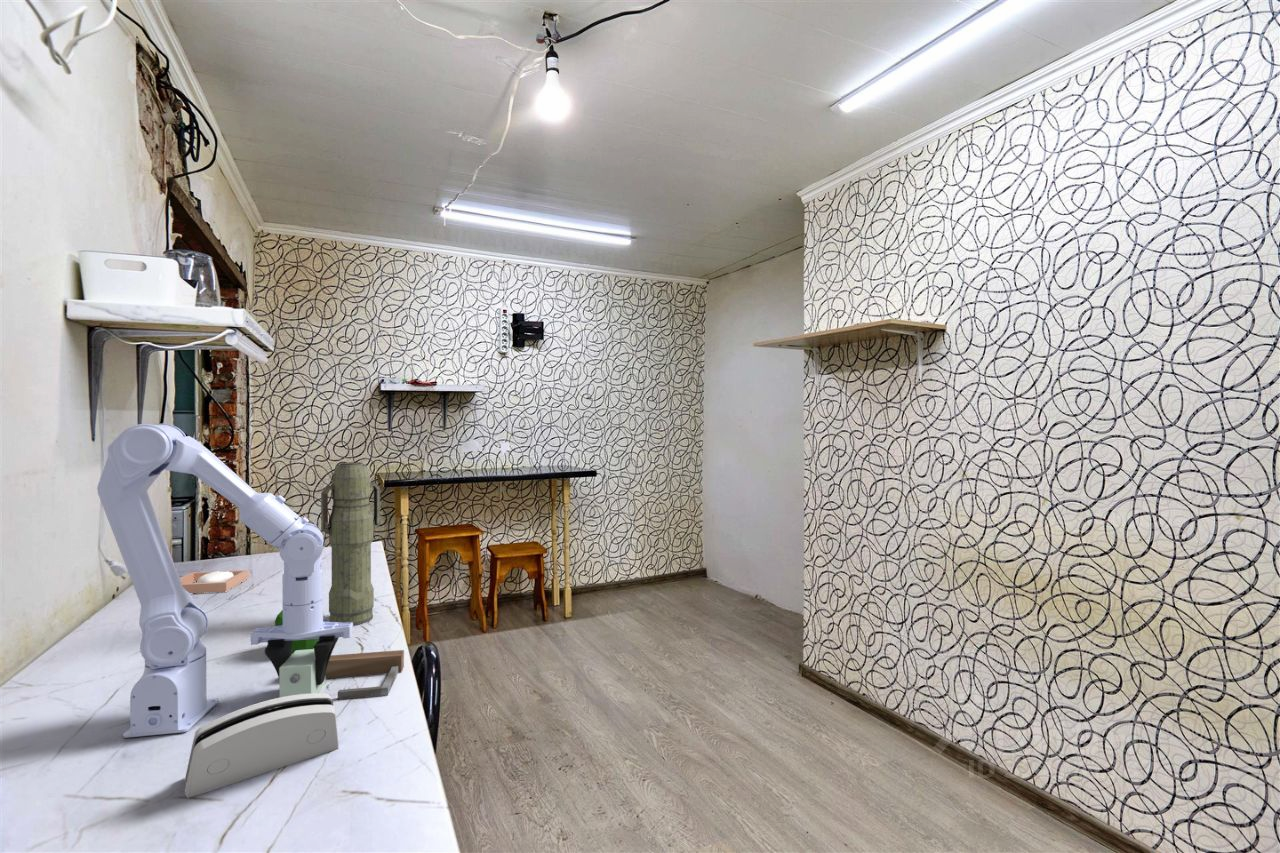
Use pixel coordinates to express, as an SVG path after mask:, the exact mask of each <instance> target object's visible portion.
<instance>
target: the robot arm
mask: <svg viewBox="0 0 1280 853" xmlns="http://www.w3.org/2000/svg"><path fill="white" fill-rule="evenodd" d="M165 470H166V471H169V472H176V473H181V474H189V475H193V476H195V477H196V478H198V479H199V480H200V481H202V482H203V483H205V485H207V486H208V487H210V488H211V489H212V490H214V491H216V492H217V493H218V494H220V495H221V496H222V497H224V498H225V499H226V500H228V501H229V502H231V503H232V504H233V505H235V506H236V507H237V508H238V510H239V514H238V515H239V516H238V518H239V521H240V522H241V523H243V524H244V526H247V527H248V528H249V529H250V530H252V531H253V532H254V533H255V534H256V535H258V537H261V538H262V539H263V540H264V541H266V542H267V543H268V544H269V545H270V546H271V547H275V548H279V550H278V552H279V556H280V558H281V560H282V561H283V574H282V583H281V584H282V610H283V625H281V626H275V625H274V626H270V627H269V626H268V627H263V628H255V629H254V630H253V631H251V633H250V645H251V646H253V645H254V646H255V645H259V644H261V643H267V645H266V648H264V653H265V656H266V657H267V658H268V659H269V661H270V662H271V664H272V666H273V668H274V669H275V671H276V674H277V677H278V678H279V668H280V667H281V666H282V665H283V664H284V663H285V662H286V660H287V659H288V658H289V657H290V656H291V655H292V653H291V650H292V642H293V640H307V639H319V641H317V643H316V644H315V645H314V652H315V658H316V685H321V684H322V683H323V681H324V680H325V681H326V679H325V674H326V669H327V665H328V662H329V659H330V656H331V655H332V654H333V651H334V649H335V647H336V645H337V643H338V640H339V638H343V639H350V638H351V637H352V636H353V634H354V626H353V622H352V623H339V622H330V621H324V571H323V568H322V567H323V558H322V553H323V551H324V550H323V549H324V534H322V530H320V529H319V528H318V526H317V524H313V523H309V522H310V520H309V518H307V517H306V516H303V517H301V516H300V515H298V514H297V513H296V512H295V511H293V510H292V509H291V508H290V507H289V506H288V505H286V504H285V502H286V498H285V497H283V496H282V494H279V495H277V496H275V495H274V494H273V493H271V492H256V490H255V489H253V488H252V487H251V486H250V485H249V484H248V483H247V482H246V481H244V480H243V478H241V477H240V475H237V474H236V473H235V472H234V471H233V470H232V469H231V468H229V466H228V465H226V464H225V463H224V462H223V461H222V460H220V459H219V457H217V455H215V454H214V453H213V452H212V451H210V449H208V448H207V447H206V446H204V445H203V444H202V443H200V442H199V441H198V440H197V439H195V438H194V437H192V436H190V435H187V436H186V433H185V432H184V431H183V430H181V429H180V428H179V427H177V426H175V425H173V424H171V423H155V424H148V423H141V424H134V425H131V426H129V427H127V428H126V429H124V430H123V431H122V432H121V433H120V434H119V435H118V436H117V437H116V438H115V439H114V440H113V441H112V442H111V443H110V444H109V445H108V446H107V458H106V461H105V463H104V466H103V469H102V473H101V475H100V478H99V480H98V484H97V488H96V490H97V495H98V498H99V500H100V502H101V506H102V508H103V510H104V513H105V515H106V518H107V520H108V523H109V525H110V528H111V531H112V534H113V537H114V538H115V542H116V544H117V547H118V550H119V552H120V554H121V556H122V560H123V562H124V564H125V567H126V570H127V572H128V575H129V578H130V580H131V583H132V585H133V588H134V590H135V593H136V596H137V599H138V601H139V604H140V612H139V613H140V614H139V621H138V622H139V623H138V624H139V627H140V630H141V641H140V645H139V649H140V650H139V651H140V654H141V657H143V659H144V671H143V674H142V676H141V677H140V678H139V679H138V681H137V682H136V683H134V686H133V687H132V688H131V691H130V695H129V696H130V698H129V699H130V700H129V701H130V702H129V703H130V706H129V709H130V710H129V711H130V712H129V713H130V717H129V718H130V720H129V721H130V722H129V724H130V728H129V729H128V730H126V731H125V732H124V733H122V737H123V738H124V739H126V738H134V737H135V738H137V737H146V736H157V735H167V734H168V735H169V734H177V733H179V734H180V733H185V732H188V731H189V730H190V729H191V728H192V727H193V726H195V724H196V723H198V722H199V721H200V719H202V718H203V717H204V716H205V715H206V714H207V713H208V712H209V711H210V710H212V708H213V707H214V706H216V705H217V703H219V701H220V699H219V698H218V697H216V698H207V647H206V646H205V645H204V644H203V642H202V640H201V638H202V637H203V636H204V635H205V633H206V632H207V629H208V627H209V618H208V614H207V613H206V612H205V610H204V609H202V608H201V607H199V606H198V605H197V604H196V603H195V600H194V598H193V596H192V594H190V593H189V592H188V591H186V590H185V589H184V588H183V586H182V584H181V581H180V578H181V577H180V576H179V574H178V570H177V568H176V566H175V562H174V560H173V557H172V555H171V551H170V549H169V546H168V543H167V540H166V539H165V536H164V533H163V530H162V528H161V525H160V522H159V519H158V517H157V514H156V512H155V509H154V506H153V504H152V501H151V498H150V496H149V492H148V491H149V489H150V487H151V486H152V485H153V483H154V482H155V481H156V480H157V478H159V476H160V475H161V473H162V472H163V471H165Z"/></svg>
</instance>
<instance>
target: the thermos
mask: <svg viewBox="0 0 1280 853" xmlns="http://www.w3.org/2000/svg"><path fill="white" fill-rule="evenodd" d="M371 489H373V513H372V510H371V503H370V497H371ZM330 491H331V499H332V505H331V512H330V515H329V493H330ZM320 499H321V500H320V504H321V505H320V507H321V508H320V511H321V512H320V513H321V514H320V516H321V518H320V520H321V521H320V529H321V530H320V531H321V532H323V533H325V534H326V535H328V542H329V545H330V547H331V587H330V589H329V591H328V613H329V622H339V623H352V622H353V627H355V625H356V626H359V625H360V626H361V625H363V623H364V624H366V623H369V622H370V621H372V620H373V618H374V615H373V610H374V609H373V608H374V602H375V600H374V596H375V595H374V591H375V588H374V587H373V584H372V565H371V564H372V542H373V540H374V531H375V529H378V528H380V526H381V525H380V524H381V488H380V486H379V485H378V484H377V483H376V482H372V481H371V475H370V472H369V469H368V466H367V464H366V463H363V462H356V461H355V462H352V461H351V462H339V464H336V465H335V467H334V469H333V473H332V477H331V484H330V485H328V486H325V487H324V488H323V490H322V491H321V492H320Z"/></svg>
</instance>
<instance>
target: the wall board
mask: <svg viewBox="0 0 1280 853" xmlns="http://www.w3.org/2000/svg"><path fill="white" fill-rule="evenodd" d="M404 667H405V650H404V649H399V650H384V651H374V652H372V651H371V652H362V653H361V652H359V653H357V652H356V653H344V654H334V655H332V654H331V656H330V659H329V662H328V665H327V669H326V674H325V680H326V679H337V678H348V677H360V676H361V675H362V676H373V675H374V674H375V675H382V674H383V675H386V674H387V677H385V680H384V681H383V684H382V685H381V686H370V687H369V686H368V687H359V688H357V687H356V688H347V689H345V688H344V689H339V690H338V691H337V700H339V701H340V700H349V699H359V698H360V699H361V698H372V697H382V696H384V697H385V696H389V694H390V691H391V689H392V687H393V685H394V682H395V681H396V679H397V676H398V674H400V673H402V672H403V669H404ZM362 676H361V677H362Z"/></svg>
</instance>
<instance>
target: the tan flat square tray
mask: <svg viewBox="0 0 1280 853" xmlns="http://www.w3.org/2000/svg"><path fill="white" fill-rule="evenodd" d="M217 571H218V570H217ZM217 571H215V570H213V571H194V572H193V571H192V572H190V573H187V574H185V575H183V576H181V577H179V578H180V581H181V584H182V586H183V588H184V589H185V590H186V591H188V592H189V593H204V592H224V593H226V592H225V591H228V590H229V589H231V588H233V587H234V586H236V585H238V584H239V583H241V582H243V581H244V580H246V579H247V578H249V579H250V570H249V569H238V570H219V571H220V572H227V571H228V572H232V573H233V575H234V576H233V577H232V578H230V579H228V580H226V581H224V582H210V583H197V582H194V581H198V579H199V578H200V577H201V576H203V575H205V574H208V573H212V572H217ZM246 581H247V580H246ZM192 582H194V583H192ZM244 582H245V581H244ZM244 582H243V583H244ZM241 584H242V583H241ZM239 585H240V584H239ZM239 585H238V586H239ZM236 587H237V586H236ZM234 588H235V587H234ZM234 588H233V589H234ZM231 590H232V589H231ZM229 591H230V590H229ZM229 591H228V592H229Z"/></svg>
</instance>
